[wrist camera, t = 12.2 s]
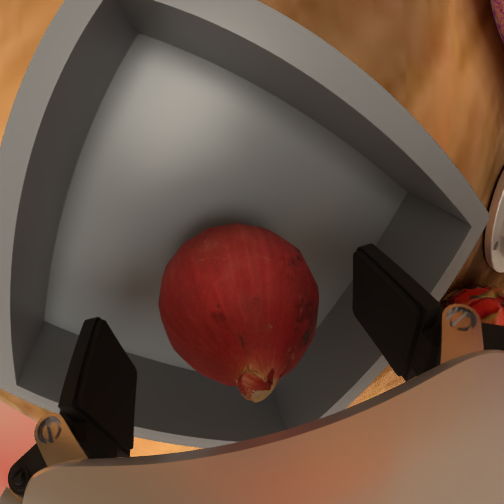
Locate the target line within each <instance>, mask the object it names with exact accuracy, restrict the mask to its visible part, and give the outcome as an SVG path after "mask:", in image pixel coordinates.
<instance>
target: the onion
mask: <svg viewBox="0 0 504 504" xmlns="http://www.w3.org/2000/svg"><path fill="white" fill-rule="evenodd" d="M158 306H159V311H160V316H161V320H162V323H163V325H164V328H165V331H166V334H167V337H168V339H169V341H170V343H171V345H172V347H173V349H174V350H175V351H176V352H177V354H178V355H179V356H180V357H181V358H182V359H183V360H185V361H186V362H187V363H188V364H189V365H190V366H191V367H192V368H193V369H195V370H196V371H197V372H199V373H200V374H202V375H204V376H206V377H208V378H210V379H213V380H215V381H217V382H219V383H222V384H224V385H226V386H237V387H238V389H239V392H240V393H241V394H242V395H243V396H244V398H245V399H246V400H251V401H253V402H255V403H256V402H259V401H262V400H263V399H265V398H266V397H267V396H268V395H269V394H270V393H271V392H272V391H273V390H274V388H275V386H276V385H277V383H278V381H279V380H280V379H281V378H282V377H283V376H285V375H286V374H288V373H289V372H291V371H292V370H293V369H294V368H295V367H296V366H297V364H298V363H299V361H300V360H301V358H302V357H303V355H304V354H305V352H306V350H307V349H308V347H309V345H310V344H311V342H312V340H313V338H314V335H315V332H316V326H317V318H318V308H319V289H318V285H317V283H316V281H315V279H314V277H313V275H312V273H311V271H310V269H309V267H308V265H307V263H306V261H305V259H304V257H303V256H302V254H301V252H300V250H299V249H298V248H297V247H295V246H294V245H292V244H291V243H289V242H288V241H286V240H285V239H283V238H282V237H280V236H279V235H277V234H276V233H274V232H272V231H270V230H268V229H266V228H261V227H257V226H252V225H247V224H242V223H234V224H228V225H222V226H216V227H210V228H208V229H206V230H204V231H203V232H201V233H199V234H198V235H196V236H194V237H193V238H191V239H189V240H188V241H186V242H185V243H183V244H182V246H181V247H180V248H179V249H178V251H177V252H176V253H175V255H174V256H173V257H172V258H171V260H170V261H169V262H168V264H167V265H166V267H165V271H164V274H163V277H162V282H161V289H160V295H159V302H158Z"/></svg>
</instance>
